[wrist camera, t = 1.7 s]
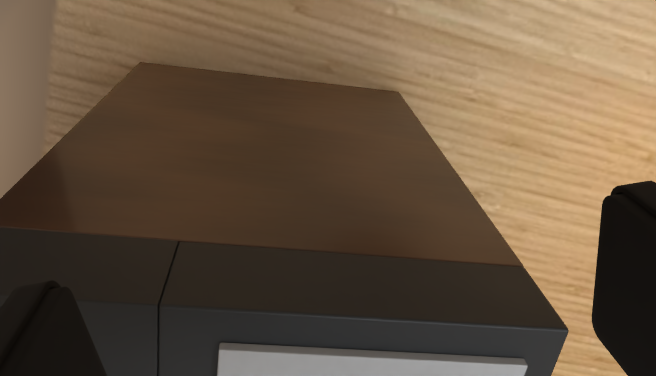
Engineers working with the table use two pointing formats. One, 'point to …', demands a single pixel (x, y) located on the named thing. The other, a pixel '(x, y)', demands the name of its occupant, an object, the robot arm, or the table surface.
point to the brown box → (256, 171)
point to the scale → (288, 309)
